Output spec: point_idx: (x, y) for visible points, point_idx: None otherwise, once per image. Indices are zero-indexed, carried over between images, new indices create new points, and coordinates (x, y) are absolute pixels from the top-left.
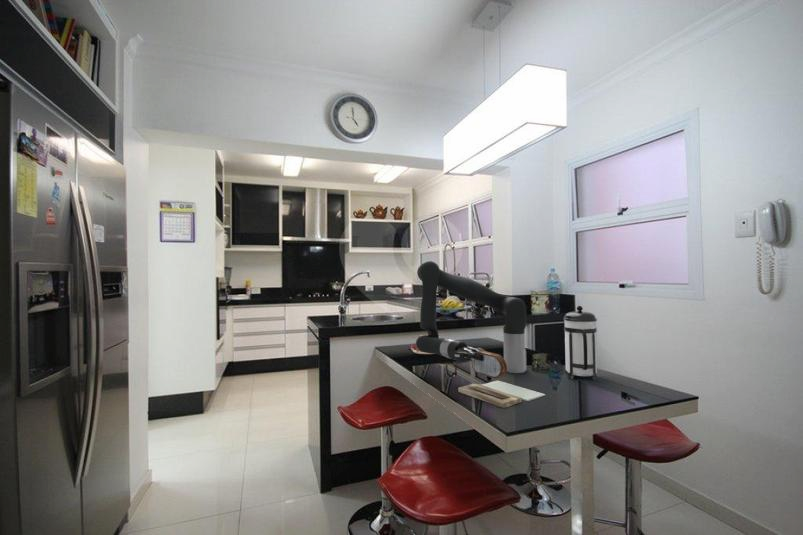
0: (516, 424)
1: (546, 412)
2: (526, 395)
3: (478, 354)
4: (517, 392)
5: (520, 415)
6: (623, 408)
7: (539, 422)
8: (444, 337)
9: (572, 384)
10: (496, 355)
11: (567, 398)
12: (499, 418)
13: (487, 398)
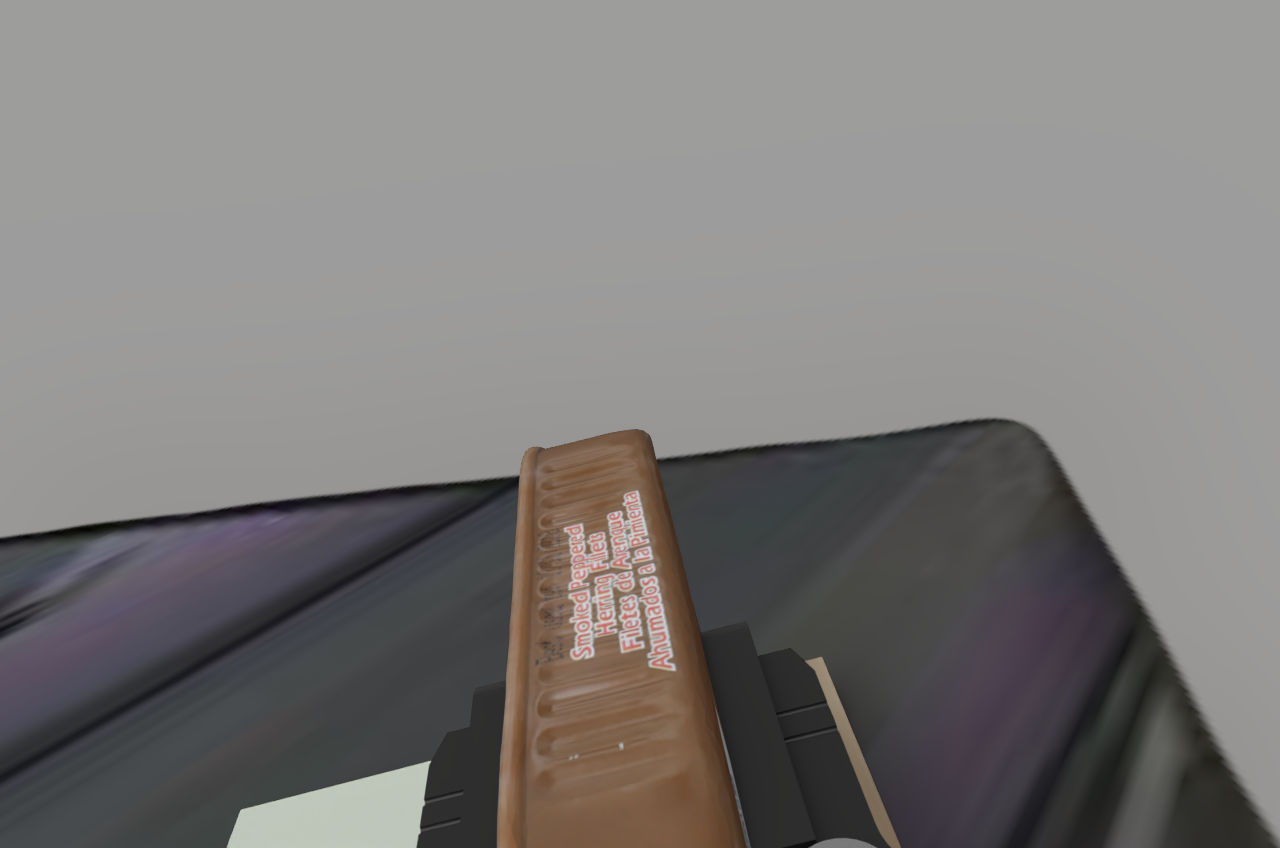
0: (911, 473)
1: None
2: (397, 845)
3: (774, 707)
4: None
5: (794, 557)
6: (225, 528)
7: (758, 475)
8: None
9: None
10: (590, 445)
11: (215, 709)
12: (979, 547)
13: (897, 844)
